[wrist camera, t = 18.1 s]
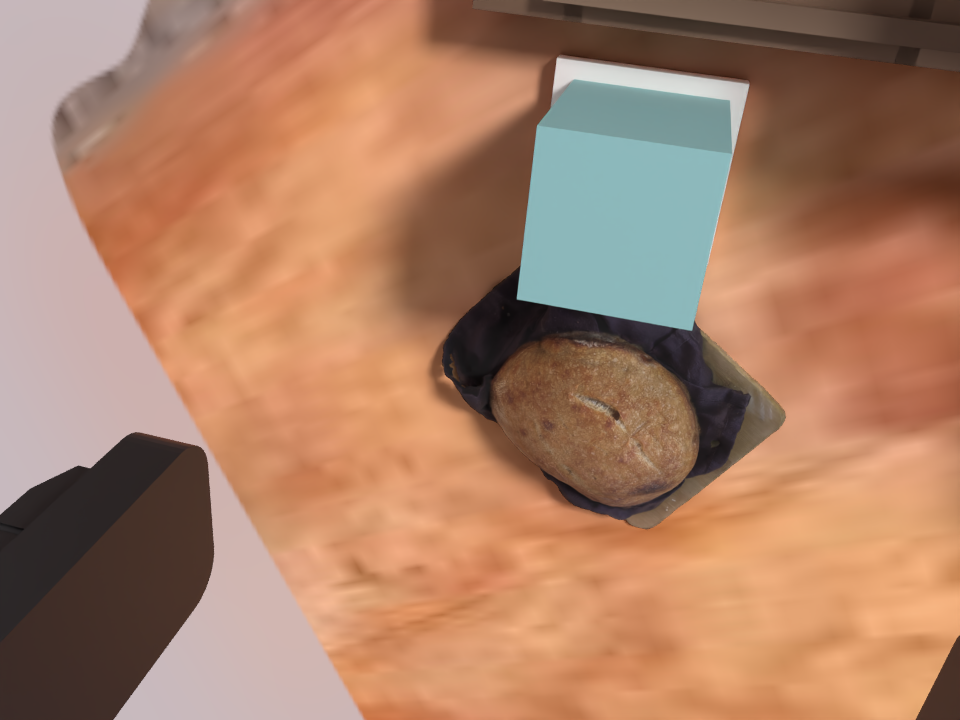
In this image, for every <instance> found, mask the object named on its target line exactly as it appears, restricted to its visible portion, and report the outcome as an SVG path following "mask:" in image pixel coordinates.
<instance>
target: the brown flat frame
mask: <svg viewBox="0 0 960 720" xmlns="http://www.w3.org/2000/svg"><path fill="white" fill-rule="evenodd" d="M473 9H479V10H487V11H494V12H502V13H510V14H518V15H525V16H533V17H541V18H548V19H556V20H564V21H571V22H579V23H587V24H595V25H602V26H610V27H618V28H625V29H633V30H641V31H648V32H656V33H664V34H672V35H679V36H687V37H695V38H702V39H710V40H718V41H725V42H733V43H741V44H749V45H756V46H764V47H772V48H779V49H787V50H795V51H802V52H810V53H818V54H826V55H833V56H841V57H849V58H856V59H864V60H872V61H879V62H887V63H895V64H903V65H910V66H918V67H926V68H933V69H941V70H949V71H956V72H960V0H473Z"/></svg>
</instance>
